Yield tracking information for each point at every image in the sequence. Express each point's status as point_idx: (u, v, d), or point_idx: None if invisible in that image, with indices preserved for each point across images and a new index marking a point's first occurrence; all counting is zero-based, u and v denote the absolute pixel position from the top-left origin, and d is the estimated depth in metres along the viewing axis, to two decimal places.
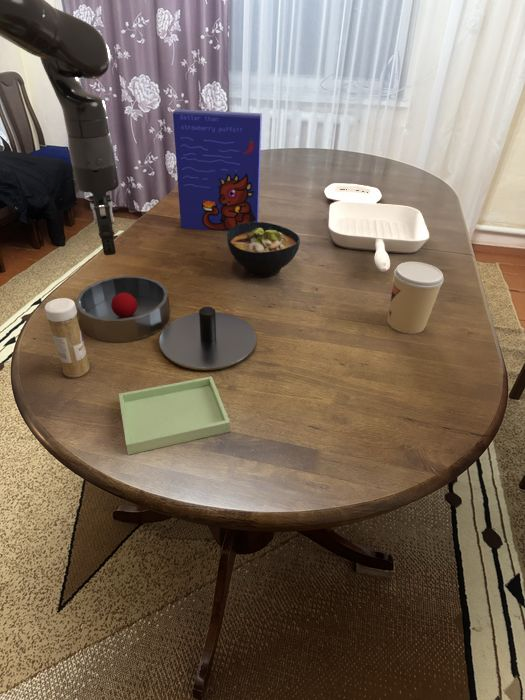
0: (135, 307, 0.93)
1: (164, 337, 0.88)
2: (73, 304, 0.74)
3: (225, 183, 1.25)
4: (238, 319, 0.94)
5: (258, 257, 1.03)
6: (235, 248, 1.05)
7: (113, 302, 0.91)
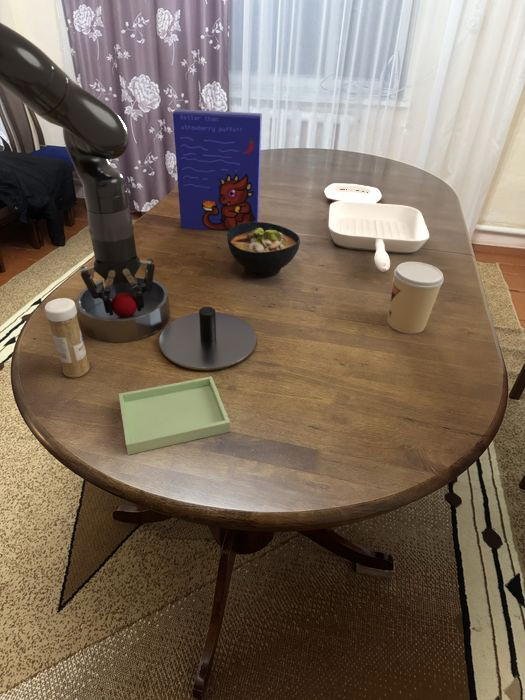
0: (135, 307, 0.93)
1: (164, 337, 0.88)
2: (73, 304, 0.74)
3: (225, 183, 1.25)
4: (238, 319, 0.94)
5: (258, 257, 1.03)
6: (235, 248, 1.05)
7: (113, 302, 0.91)
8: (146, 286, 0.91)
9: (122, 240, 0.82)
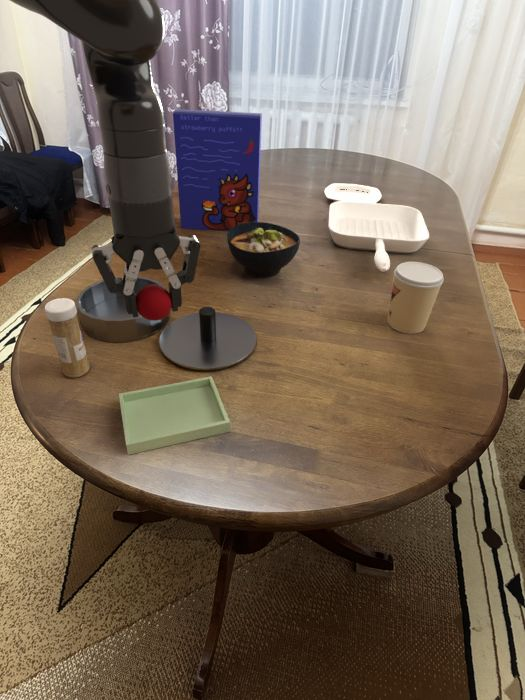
0: (170, 305, 0.64)
1: (164, 337, 0.88)
2: (73, 304, 0.74)
3: (225, 182, 1.25)
4: (238, 319, 0.94)
5: (258, 257, 1.03)
6: (235, 248, 1.05)
7: (138, 298, 0.63)
8: (187, 275, 0.63)
9: (157, 202, 0.54)
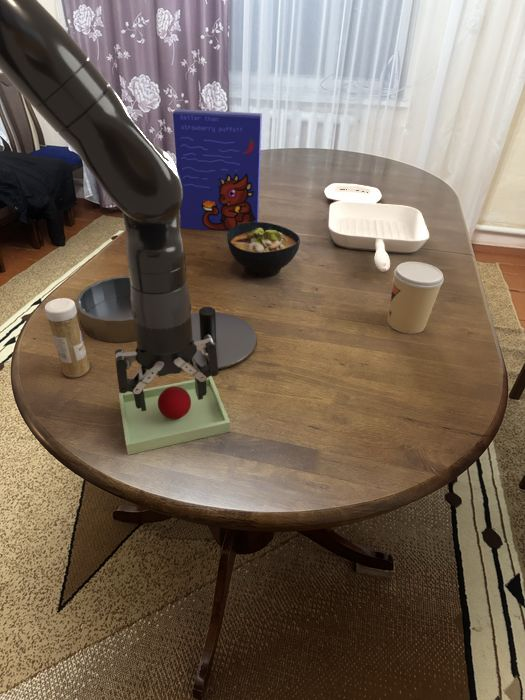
0: (189, 407, 0.71)
1: None
2: (73, 304, 0.74)
3: (225, 182, 1.25)
4: (238, 319, 0.94)
5: (258, 257, 1.03)
6: (235, 248, 1.05)
7: (162, 401, 0.69)
8: (211, 371, 0.68)
9: (178, 326, 0.59)
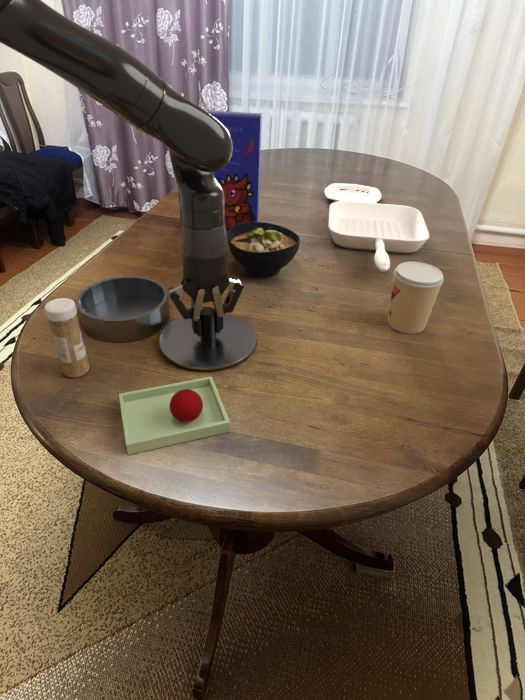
0: None
1: (164, 337, 0.88)
2: (73, 304, 0.74)
3: (225, 182, 1.25)
4: (238, 319, 0.94)
5: (258, 257, 1.03)
6: (235, 248, 1.05)
7: (182, 405, 0.68)
8: (229, 307, 0.85)
9: (218, 257, 0.76)
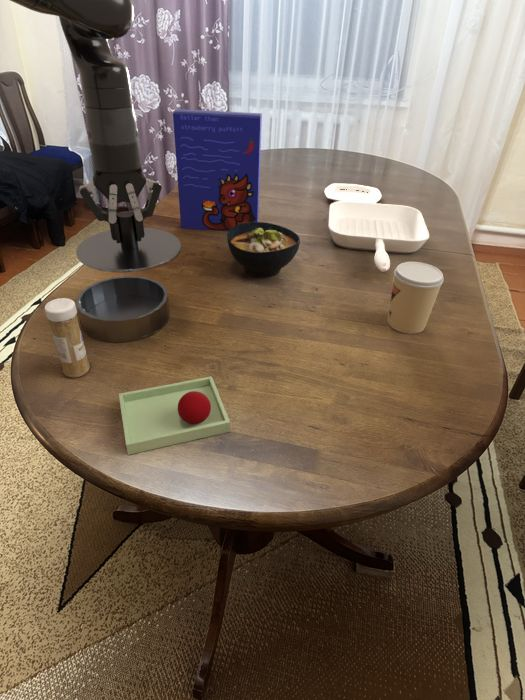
0: None
1: (83, 245, 0.84)
2: (73, 304, 0.74)
3: (225, 182, 1.25)
4: (166, 233, 0.90)
5: (258, 257, 1.03)
6: (235, 248, 1.05)
7: (196, 410, 0.68)
8: (147, 210, 0.80)
9: (125, 145, 0.71)
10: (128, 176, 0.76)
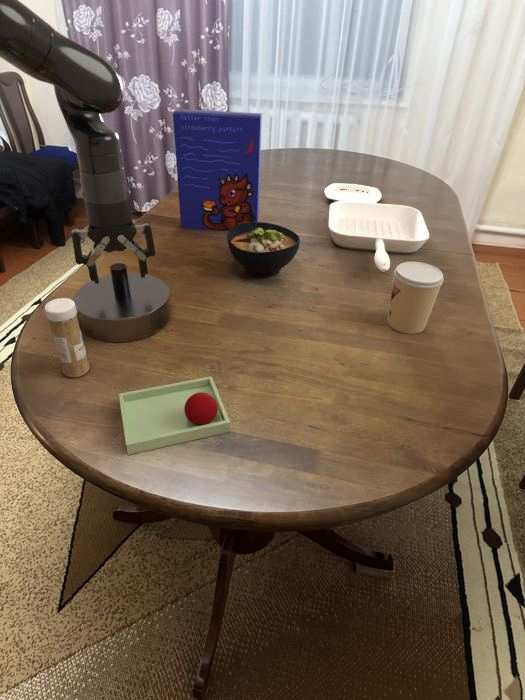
0: None
1: (79, 293, 0.91)
2: (73, 304, 0.74)
3: (225, 182, 1.25)
4: (156, 279, 0.97)
5: (258, 257, 1.03)
6: (235, 248, 1.05)
7: (206, 415, 0.68)
8: (149, 251, 0.87)
9: (117, 203, 0.78)
10: (119, 228, 0.83)
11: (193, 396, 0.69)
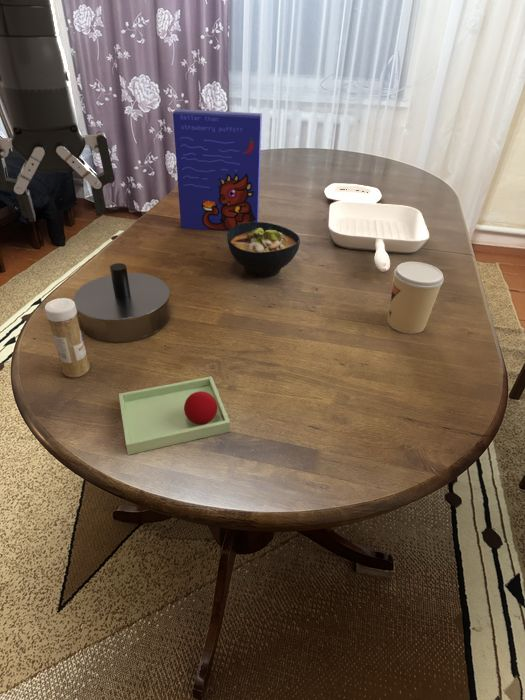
0: None
1: (79, 293, 0.91)
2: (73, 304, 0.74)
3: (225, 182, 1.25)
4: (156, 279, 0.97)
5: (258, 257, 1.03)
6: (235, 248, 1.05)
7: (206, 412, 0.68)
8: (106, 175, 0.61)
9: (49, 90, 0.52)
10: (59, 136, 0.57)
11: (192, 394, 0.70)
